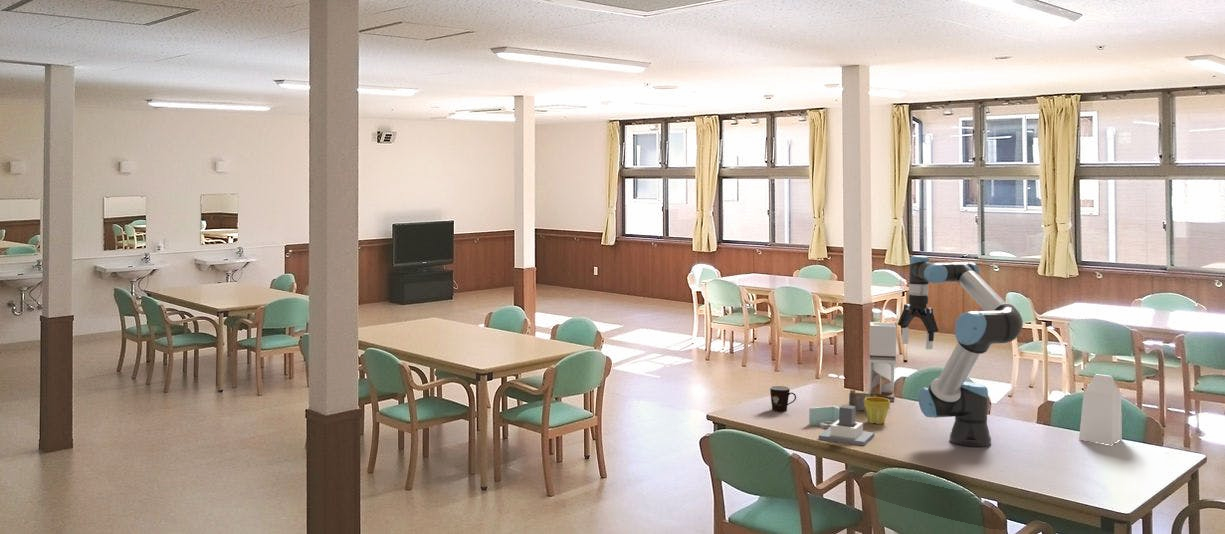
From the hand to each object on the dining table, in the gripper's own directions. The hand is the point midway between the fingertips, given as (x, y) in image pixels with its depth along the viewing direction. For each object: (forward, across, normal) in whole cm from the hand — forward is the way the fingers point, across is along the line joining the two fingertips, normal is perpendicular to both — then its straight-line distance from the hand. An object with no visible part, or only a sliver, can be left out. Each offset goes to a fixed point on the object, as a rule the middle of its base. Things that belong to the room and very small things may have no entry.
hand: (916, 346), depth 384 cm
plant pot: (+35, +17, +5) cm, 39 cm away
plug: (+33, +3, +32) cm, 46 cm away
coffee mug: (+35, +50, +30) cm, 68 cm away
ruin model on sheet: (+35, +36, -4) cm, 51 cm away
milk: (+35, -42, -56) cm, 78 cm away
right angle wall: (+35, +19, +28) cm, 49 cm away
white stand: (+35, +50, -26) cm, 66 cm away
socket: (+35, +3, +32) cm, 47 cm away
